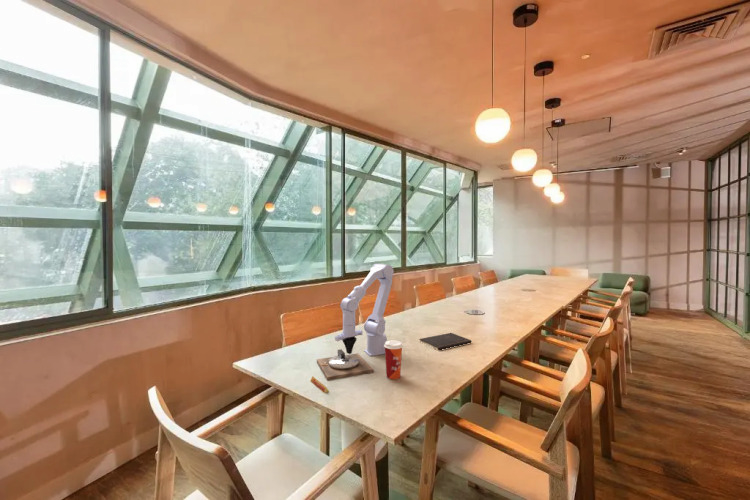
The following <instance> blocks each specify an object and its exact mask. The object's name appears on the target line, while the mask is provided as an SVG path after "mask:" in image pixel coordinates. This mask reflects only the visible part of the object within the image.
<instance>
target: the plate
mask: <svg viewBox="0 0 750 500" xmlns="http://www.w3.org/2000/svg"><path fill="white" fill-rule="evenodd" d="M349 355H352V356H355V357H357V358H358V359H359V364H358V366H356V367H354V368H351V369H345V370H340V369H334V368H332V367H330V366H329V360H330V359H331V358H332V357H333V356H331V357H325V358H316V363H317V365H318V366H319V369H320V370H321V372H322V373H323V375H324V377H325V379H326V381H330V380H334V379H342V378H347V377H353V376H358V375H364V374H370V373H374V368H373V367H372V366H371V365H370V363H369V362H367V361H366V360H365V359H364V358H363V357H362V356H361V355H360V354H359V353H351V354H349Z"/></svg>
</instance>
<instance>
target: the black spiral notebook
mask: <svg viewBox="0 0 750 500" xmlns="http://www.w3.org/2000/svg"><path fill="white" fill-rule="evenodd" d="M421 342H422V343H421ZM471 342H472V339H469V338H466V337H464V336H462V335H458V334H455V333H453V332H449V333H444V334H443V333H442V334H438V335H433V336H427V337H422V338H419V343H421V344H423V343H424V344H423V345H425V344H426V345H425V346H427V345H428V347H429V346H431V347H433V348H435V349H434V350H436V349H437V350H436V351H438V350H441V351H443V350H442V349H445V350H447V349H446V348H450V347H454V346H459V345H463V344H467V343H471ZM463 346H464V345H463ZM431 347H430V348H431ZM459 347H460V346H459ZM433 348H432V349H433ZM454 348H455V347H454ZM450 349H451V348H450Z"/></svg>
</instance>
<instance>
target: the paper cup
mask: <svg viewBox="0 0 750 500" xmlns="http://www.w3.org/2000/svg"><path fill="white" fill-rule="evenodd" d="M384 347H385V354H384V357H385V372H386V373H385V374H386V378H387V379H389V380H398V379H400V378H401V370H402V355H403V354H402V353H403V347H404V346H403V342H401V341H400V340H395V339H391V340H387V341H386V342H385V345H384Z"/></svg>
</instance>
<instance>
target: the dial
mask: <svg viewBox="0 0 750 500" xmlns="http://www.w3.org/2000/svg"><path fill="white" fill-rule="evenodd" d="M331 357H332V358H331V359H330V360H329V366H330V367H332V368H334V369H340V370H345V369H351V368H354V367H356V366H358V364H359V359H358V358H357V357H355V356H352V355H350V354H346V352H344V350H343V349H341V348H340V349H337V355H336V356H335V355H334V356H331Z"/></svg>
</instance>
